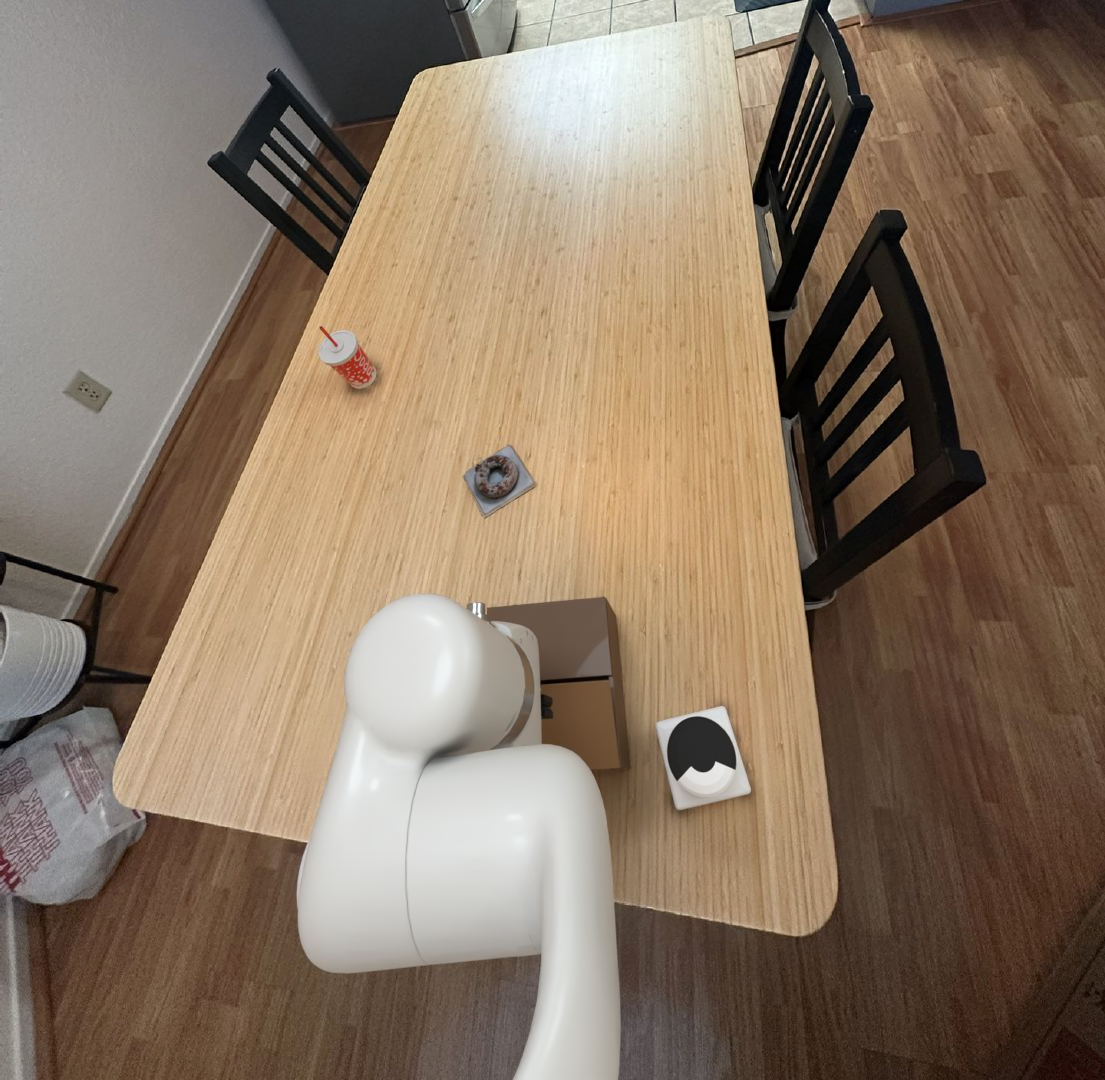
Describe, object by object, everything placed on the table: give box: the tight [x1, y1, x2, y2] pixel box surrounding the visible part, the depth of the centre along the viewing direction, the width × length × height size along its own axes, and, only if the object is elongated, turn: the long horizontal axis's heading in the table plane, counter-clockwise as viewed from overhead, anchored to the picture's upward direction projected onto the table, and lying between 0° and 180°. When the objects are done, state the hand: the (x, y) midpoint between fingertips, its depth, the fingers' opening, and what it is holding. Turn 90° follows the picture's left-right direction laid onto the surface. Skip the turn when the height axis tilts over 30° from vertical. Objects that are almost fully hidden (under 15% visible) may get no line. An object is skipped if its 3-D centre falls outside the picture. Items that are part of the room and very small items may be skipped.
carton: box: [486, 596, 632, 771], centre depth 66 cm, size 15×13×10 cm
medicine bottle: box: [654, 705, 752, 811], centre depth 60 cm, size 7×7×12 cm
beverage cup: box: [318, 325, 377, 390], centre depth 96 cm, size 6×6×14 cm
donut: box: [461, 444, 538, 519], centre depth 86 cm, size 8×8×2 cm
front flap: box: [541, 680, 620, 771], centre depth 59 cm, size 7×13×1 cm, turn 91°
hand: (536, 709), depth 56 cm, fingers closed
